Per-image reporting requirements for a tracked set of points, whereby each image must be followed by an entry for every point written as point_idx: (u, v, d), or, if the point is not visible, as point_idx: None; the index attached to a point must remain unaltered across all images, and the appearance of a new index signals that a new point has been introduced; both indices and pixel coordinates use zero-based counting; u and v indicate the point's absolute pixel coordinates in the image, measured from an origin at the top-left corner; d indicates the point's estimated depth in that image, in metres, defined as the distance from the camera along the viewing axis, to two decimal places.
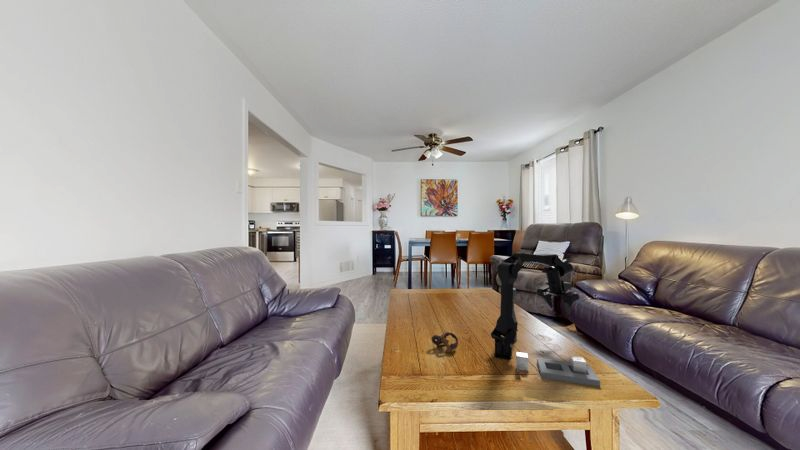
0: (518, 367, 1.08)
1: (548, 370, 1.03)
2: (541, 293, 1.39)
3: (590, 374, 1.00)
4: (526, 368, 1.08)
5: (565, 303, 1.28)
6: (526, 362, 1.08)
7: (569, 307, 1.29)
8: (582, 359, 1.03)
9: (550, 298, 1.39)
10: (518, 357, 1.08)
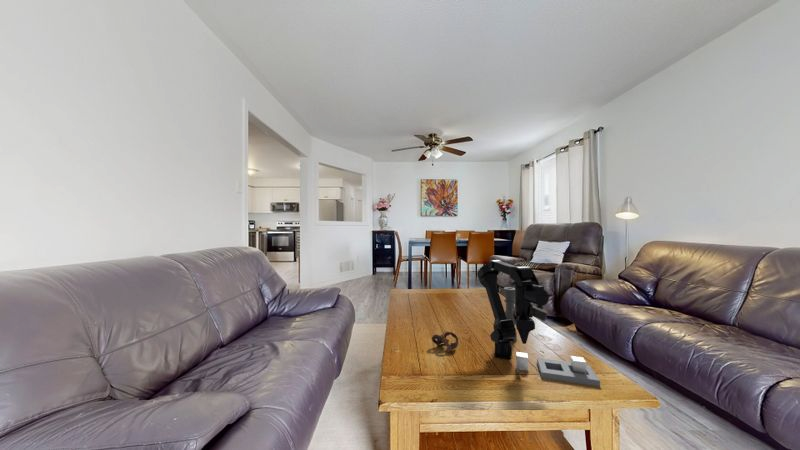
0: (518, 367, 1.08)
1: (548, 370, 1.03)
2: (513, 312, 1.17)
3: (590, 374, 1.00)
4: (526, 368, 1.08)
5: (516, 327, 1.05)
6: (526, 362, 1.08)
7: (523, 336, 1.05)
8: (582, 359, 1.03)
9: None
10: (518, 357, 1.08)
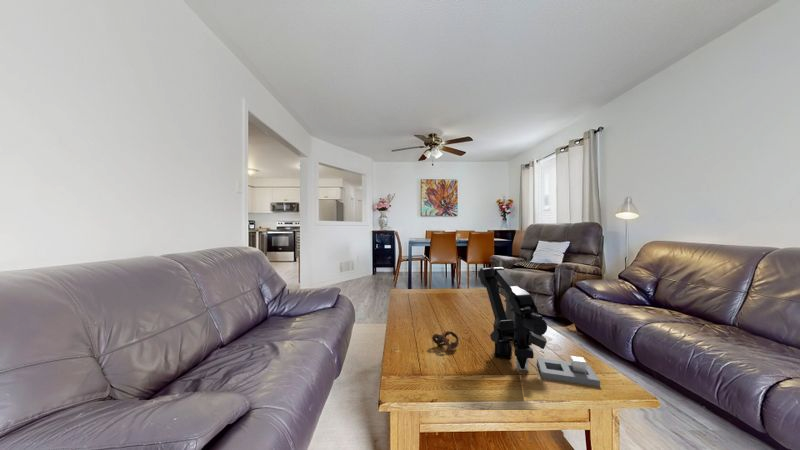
0: (518, 367, 1.08)
1: (548, 370, 1.03)
2: (512, 337, 1.17)
3: (590, 374, 1.00)
4: (526, 368, 1.08)
5: None
6: (526, 362, 1.08)
7: (521, 361, 1.07)
8: (582, 359, 1.03)
9: None
10: None
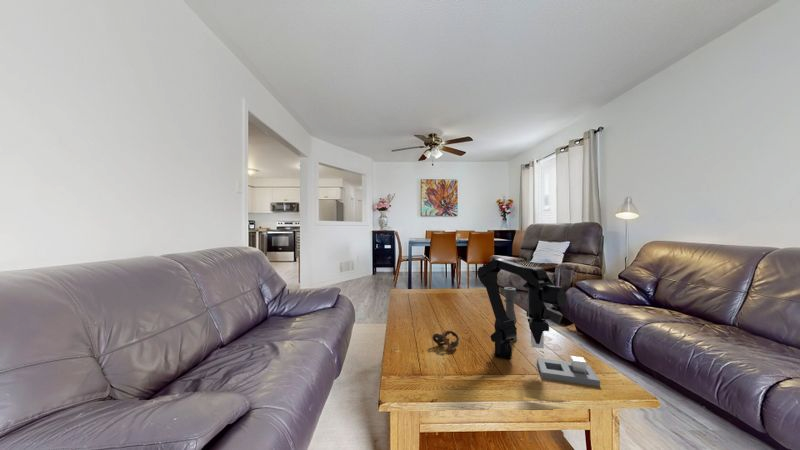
0: (533, 342, 1.07)
1: (548, 370, 1.03)
2: None
3: (590, 374, 1.00)
4: (541, 343, 1.06)
5: None
6: (541, 337, 1.06)
7: (536, 335, 1.05)
8: (582, 359, 1.03)
9: None
10: None
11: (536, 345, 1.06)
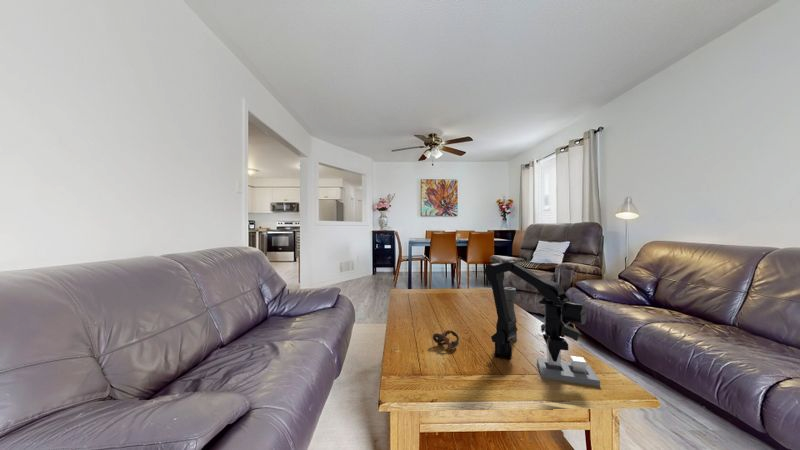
0: (550, 359, 1.05)
1: (548, 370, 1.03)
2: (541, 330, 1.13)
3: (590, 374, 1.00)
4: (558, 360, 1.04)
5: (547, 345, 1.04)
6: None
7: (554, 353, 1.03)
8: (582, 359, 1.03)
9: None
10: None
11: (553, 362, 1.05)
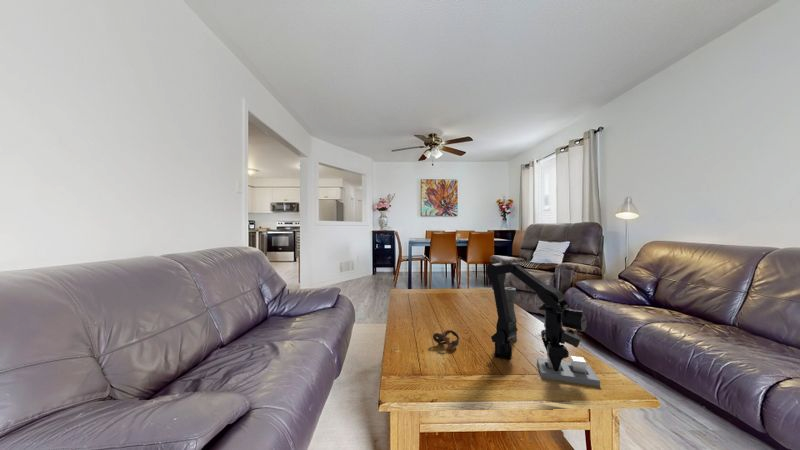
0: None
1: (548, 370, 1.03)
2: (542, 336, 1.13)
3: (590, 374, 1.00)
4: (558, 370, 1.04)
5: None
6: None
7: (555, 363, 1.01)
8: (582, 359, 1.03)
9: None
10: None
11: None
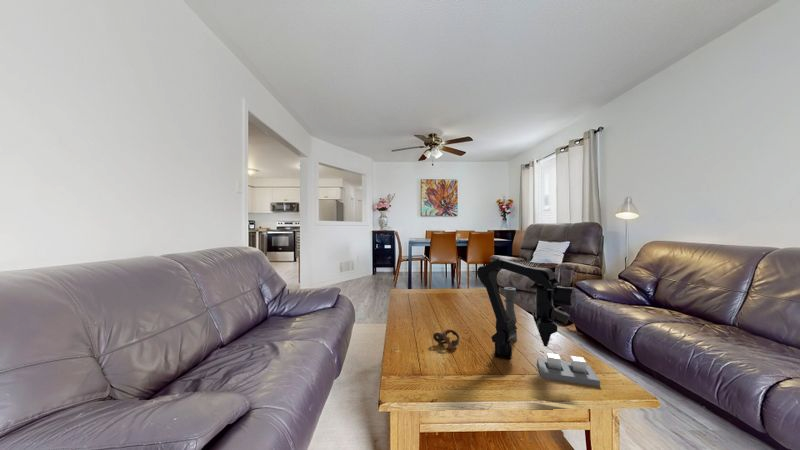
0: None
1: (548, 370, 1.03)
2: (533, 314, 1.17)
3: (590, 374, 1.00)
4: (558, 370, 1.04)
5: (538, 330, 1.05)
6: (558, 364, 1.04)
7: (545, 338, 1.04)
8: (582, 359, 1.03)
9: None
10: (550, 358, 1.05)
11: None
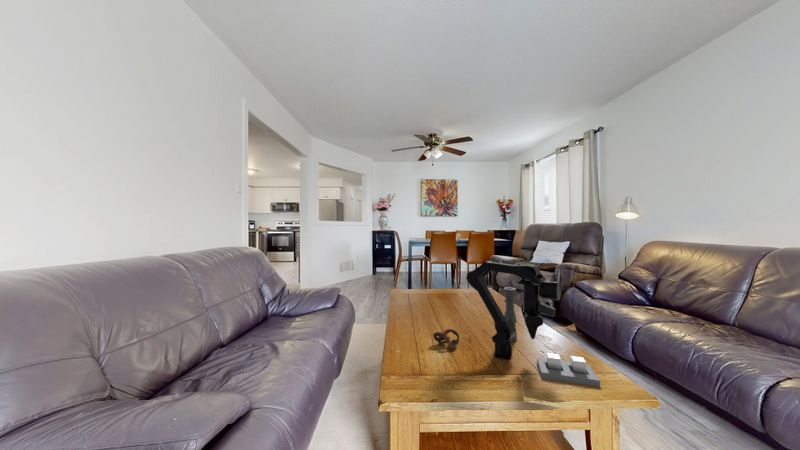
0: None
1: (548, 370, 1.03)
2: (521, 309, 1.21)
3: (590, 374, 1.00)
4: (558, 370, 1.04)
5: (525, 323, 1.09)
6: (558, 364, 1.04)
7: (532, 331, 1.09)
8: (582, 359, 1.03)
9: None
10: (550, 358, 1.05)
11: None
